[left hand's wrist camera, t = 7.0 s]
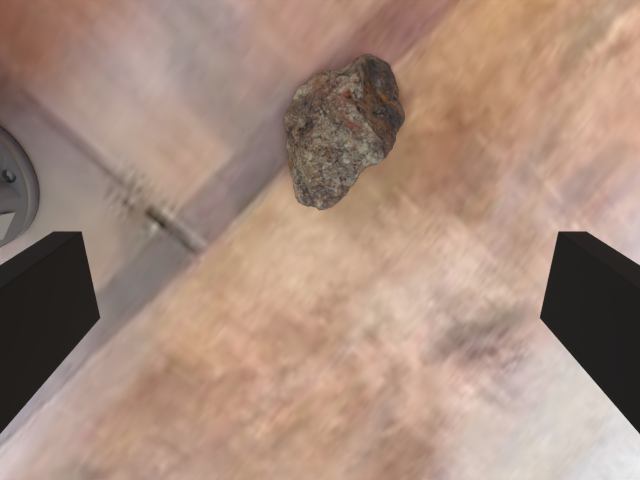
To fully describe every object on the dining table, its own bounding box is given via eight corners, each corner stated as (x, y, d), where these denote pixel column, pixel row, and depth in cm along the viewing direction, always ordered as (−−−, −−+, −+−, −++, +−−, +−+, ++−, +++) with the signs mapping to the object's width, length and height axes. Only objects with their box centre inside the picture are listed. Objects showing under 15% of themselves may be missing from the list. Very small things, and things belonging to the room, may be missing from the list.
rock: (419, 123, 45) (368, 35, 42) (448, 132, 37) (387, 24, 34) (304, 202, 47) (247, 124, 44) (307, 227, 39) (238, 133, 36)
